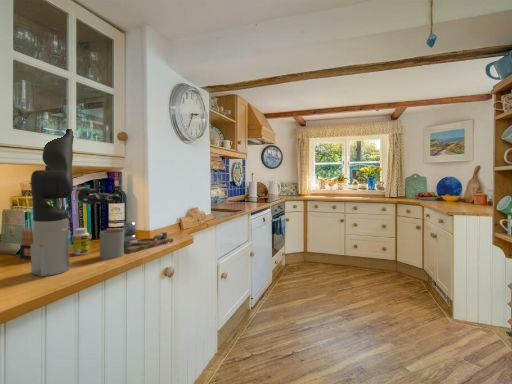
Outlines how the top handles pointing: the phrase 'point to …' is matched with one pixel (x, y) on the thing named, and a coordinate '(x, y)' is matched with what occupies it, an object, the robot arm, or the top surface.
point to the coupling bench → (146, 243)
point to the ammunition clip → (26, 243)
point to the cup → (111, 243)
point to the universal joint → (129, 231)
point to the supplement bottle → (80, 241)
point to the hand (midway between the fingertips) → (114, 200)
